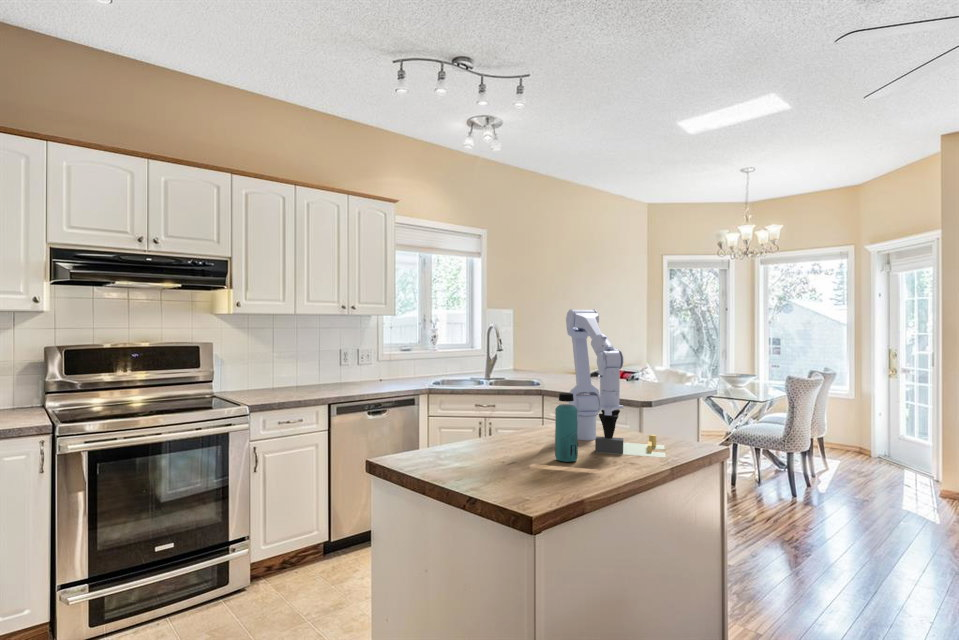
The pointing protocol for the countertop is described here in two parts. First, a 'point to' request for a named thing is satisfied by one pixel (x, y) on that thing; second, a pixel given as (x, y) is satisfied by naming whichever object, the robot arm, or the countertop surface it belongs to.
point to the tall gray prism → (609, 445)
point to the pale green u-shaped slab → (643, 448)
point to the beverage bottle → (566, 429)
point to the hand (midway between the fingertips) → (609, 435)
